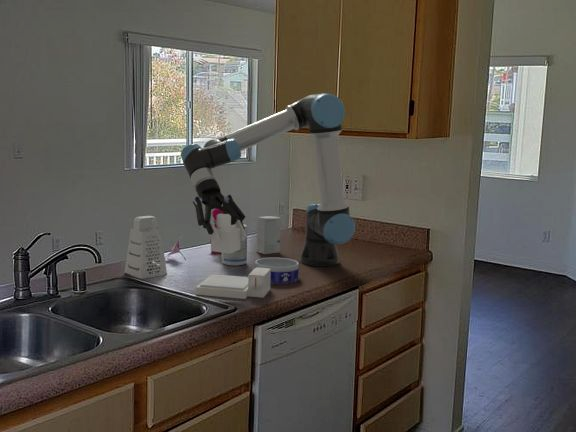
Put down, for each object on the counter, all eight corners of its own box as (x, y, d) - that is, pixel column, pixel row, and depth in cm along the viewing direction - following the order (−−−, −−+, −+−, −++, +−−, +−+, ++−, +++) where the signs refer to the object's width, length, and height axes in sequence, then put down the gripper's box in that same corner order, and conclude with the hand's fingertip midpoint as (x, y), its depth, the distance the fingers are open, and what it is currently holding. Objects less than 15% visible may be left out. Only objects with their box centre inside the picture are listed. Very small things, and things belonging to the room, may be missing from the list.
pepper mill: (229, 251, 268) (230, 203, 265) (225, 254, 261) (226, 205, 258) (212, 249, 269) (213, 202, 266) (207, 253, 262) (208, 204, 259)
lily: (179, 257, 257) (167, 237, 255) (201, 250, 251) (189, 229, 249) (163, 273, 247) (150, 251, 245) (186, 265, 241) (173, 243, 239)
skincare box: (263, 254, 263) (264, 218, 261) (255, 251, 268) (256, 216, 266) (280, 252, 268) (281, 217, 266) (272, 249, 273) (273, 215, 271)
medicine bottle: (221, 247, 212) (222, 211, 211) (240, 249, 210) (241, 213, 208) (210, 251, 206) (210, 213, 204) (230, 253, 203) (230, 216, 201)
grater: (167, 274, 227) (167, 217, 223) (141, 278, 219) (141, 220, 216) (150, 268, 234) (150, 213, 231) (124, 272, 226) (124, 216, 223)
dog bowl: (285, 272, 237) (286, 255, 236) (306, 282, 223) (306, 265, 222) (247, 275, 230) (248, 258, 229) (266, 286, 216) (266, 268, 215)
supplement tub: (251, 264, 245) (252, 226, 243) (228, 267, 240) (229, 228, 237) (238, 259, 253) (239, 222, 251) (216, 261, 248) (217, 224, 245)
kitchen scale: (272, 287, 214) (272, 266, 213) (261, 300, 199) (261, 278, 198) (211, 282, 218) (211, 261, 217) (195, 294, 203) (196, 272, 202)
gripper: (229, 190, 224) (254, 243, 214) (172, 193, 210) (196, 250, 200) (238, 176, 219) (264, 230, 209) (180, 178, 205) (205, 236, 195)
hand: (231, 240), depth 205 cm, fingers closed on medicine bottle, 9 cm apart
